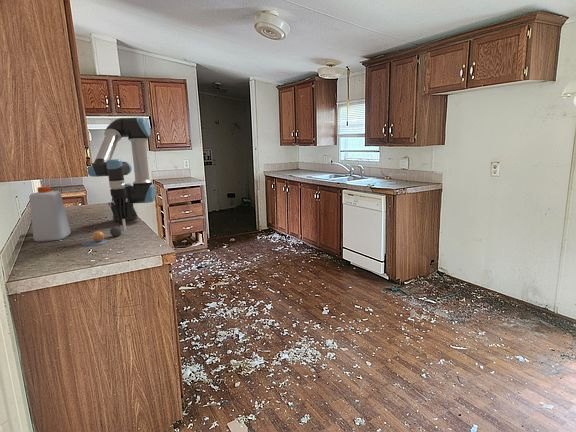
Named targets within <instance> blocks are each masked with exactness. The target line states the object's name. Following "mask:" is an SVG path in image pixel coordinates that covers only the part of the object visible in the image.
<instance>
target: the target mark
mask: <svg viewBox="0 0 576 432" xmlns="http://www.w3.org/2000/svg"><path fill="white" fill-rule="evenodd" d="M108 242H109V239H106V238H104V239H103V240H102V241H100V242H96V241H94V240H92V239H91V240H88V241H85V242H82V243H81V246H82V247H95V246H101V245H103V244H106V243H108Z"/></svg>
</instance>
